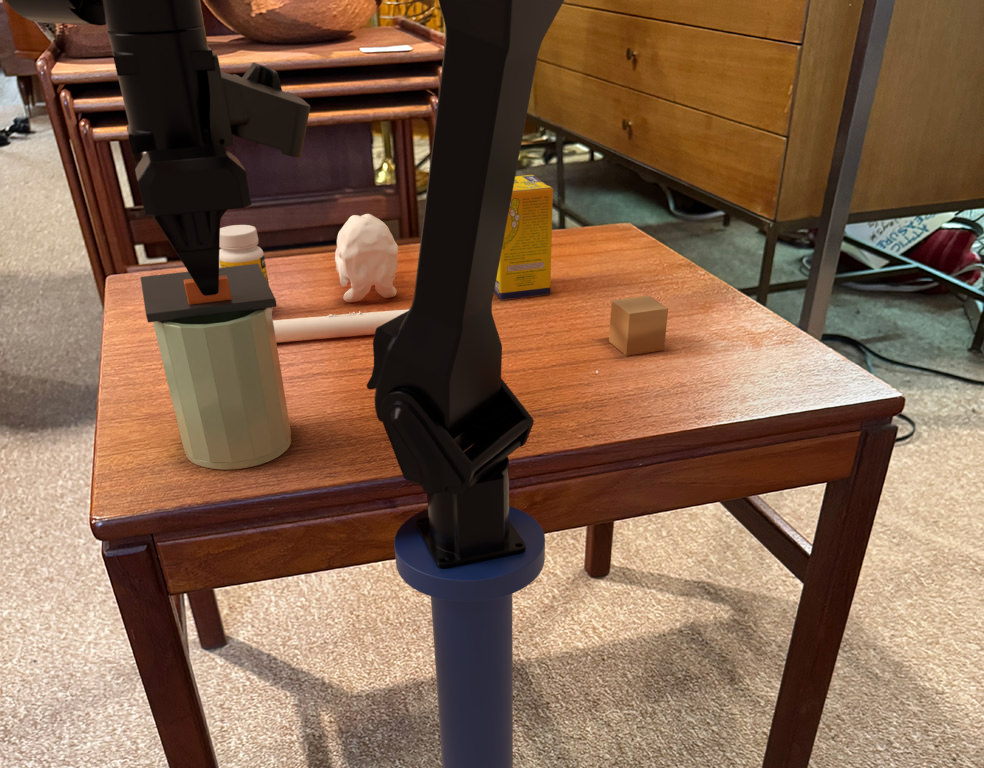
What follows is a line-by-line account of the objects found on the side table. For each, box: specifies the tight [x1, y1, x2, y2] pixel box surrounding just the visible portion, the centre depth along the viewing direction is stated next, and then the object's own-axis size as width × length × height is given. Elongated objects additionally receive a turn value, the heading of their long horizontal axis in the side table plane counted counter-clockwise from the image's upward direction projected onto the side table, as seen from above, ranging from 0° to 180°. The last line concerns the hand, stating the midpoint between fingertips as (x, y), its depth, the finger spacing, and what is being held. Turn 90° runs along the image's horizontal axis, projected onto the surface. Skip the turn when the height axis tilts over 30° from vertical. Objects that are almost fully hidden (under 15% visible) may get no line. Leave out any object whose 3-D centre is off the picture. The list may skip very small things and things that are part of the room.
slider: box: [139, 264, 278, 323], centre depth 69 cm, size 9×9×2 cm
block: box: [608, 294, 669, 357], centre depth 89 cm, size 4×4×4 cm
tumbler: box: [152, 307, 292, 471], centre depth 72 cm, size 8×8×11 cm
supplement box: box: [494, 174, 554, 301], centre depth 101 cm, size 6×6×11 cm
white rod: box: [273, 308, 410, 344], centre depth 93 cm, size 18×2×2 cm, turn 101°
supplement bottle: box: [219, 224, 274, 313], centre depth 97 cm, size 5×5×8 cm
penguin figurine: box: [334, 213, 399, 303], centre depth 102 cm, size 6×8×12 cm
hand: (209, 291), depth 67 cm, fingers closed, pressing on slider
